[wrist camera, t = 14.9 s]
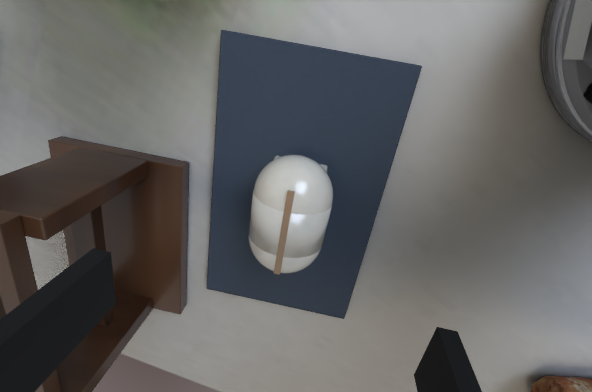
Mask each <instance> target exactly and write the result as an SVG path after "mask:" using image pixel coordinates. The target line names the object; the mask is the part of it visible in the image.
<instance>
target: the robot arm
mask: <svg viewBox="0 0 592 392" xmlns="http://www.w3.org/2000/svg"><path fill="white" fill-rule="evenodd" d="M541 62H542V72H543V77H544V81H545V85H546V88H547V91H548V94H549V97H550V99H551V101H552V103H553V105H554V107H555V108H556V110H557V111H558V113H559V114H560V115H561V117H562V118H563V119H564V120H565V121H566V122H567V123H568V125H569V126H571V127H572V128H573V129H574V130H575V131H576V132H578V133H579V134H581V135H582V136H584V137H585V138H587V139H589V140H591V141H592V0H550V3H549V6H548V10H547V13H546V17H545V22H544V27H543V34H542V43H541ZM115 304H116V296H115V287H114V277H113V267H112V257H111V252H108V251H103V250H99V249H95V248H93V249H91V250H90V251H89V252H88V253H86V254H85V255H84V256H82V257H81V258H80V259H78V260H77V261H76V262H74V263H73V264H72V265H71V266H69V267H68V268H67V269H65V270H64V271H63V272H61V273H60V274H59V275H58V276H56V277H55V278H54V279H52V280H51V281H50V282H48V283H47V284H46V285H44V286H43V287H42V288H41V289H39V290H38V291H37V292H35V293H34V294H33V295H31V296H30V297H29V298H27V299H26V300H25V301H24V302H22V303H21V304H20V305H18V306H17V307H16V308H14V309H13V310H12V311H11V312H9V313H8V314H7V315H5V316H4V317H3V318H1V319H0V392H35V391H36V390H37V389H38V388H39V387H40V386H41V384H42V383H43V382H44V381H45V380H46V379H47V378H48V377H49V376H50V375H51V374H52V373H53V371H54V370H55V369H56V368H57V367H58V366H59V365H60V364H61V363H62V362H63V361H64V360H65V358H66V357H67V356H68V355H69V354H70V353H71V352H72V351H73V350H74V349H75V348H76V347H77V345H78V344H79V343H80V342H81V341H82V340H83V339H84V338H85V337H86V336H87V335H88V334H89V332H90V331H91V330H92V329H93V328H94V327H95V326H96V325H97V324H98V323H99V322H100V320H101V319H102V318H103V317H104V316H105V315H106V314H107V313H108V312H109V311H110V310H111V309H112V307H113V306H114V305H115ZM414 377H415V382H416V386H417V391H418V392H482V391H481V388H480V386H479V384H478V381H477V379H476V376H475V374H474V371H473V369H472V366H471V364H470V361H469V359H468V356H467V354H466V351H465V349H464V347H463V344H462V342H461V339H460V337H459V334H458V332H457V331H452V330H448V329H443V328H439V327H437V328H436V330H435V332H434V335H433V337H432V339H431V341H430V343H429V345H428V347H427V349H426V351H425V353H424V355H423V357H422V359H421V361H420V363H419V365H418V367H417V370H416V372H415V374H414Z"/></svg>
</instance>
